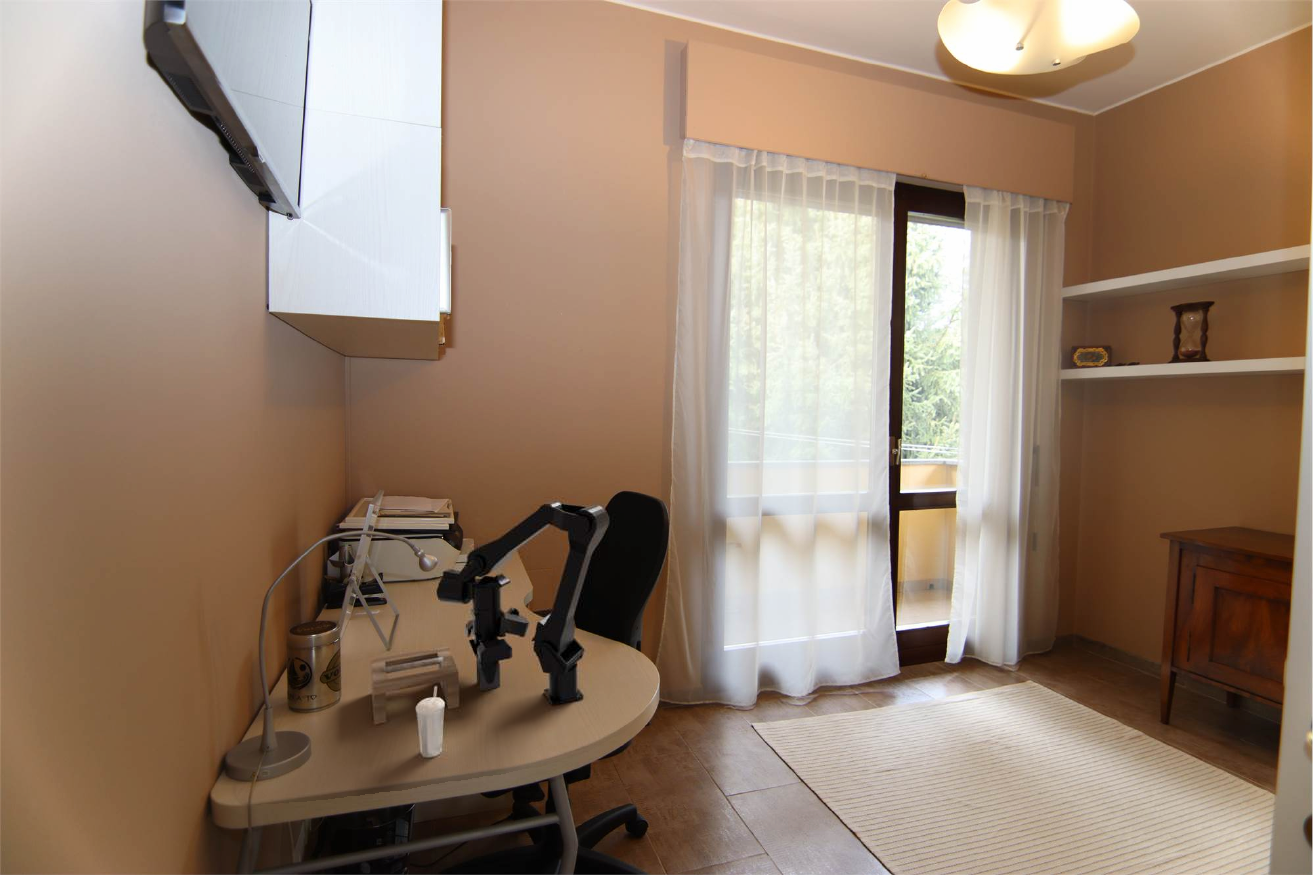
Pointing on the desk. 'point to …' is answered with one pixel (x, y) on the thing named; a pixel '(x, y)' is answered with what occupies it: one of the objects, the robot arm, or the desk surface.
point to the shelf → (413, 677)
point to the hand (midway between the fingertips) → (488, 678)
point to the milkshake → (430, 725)
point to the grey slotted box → (483, 681)
